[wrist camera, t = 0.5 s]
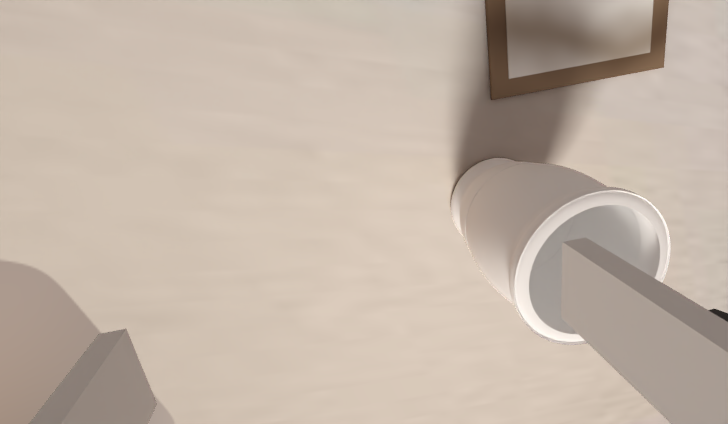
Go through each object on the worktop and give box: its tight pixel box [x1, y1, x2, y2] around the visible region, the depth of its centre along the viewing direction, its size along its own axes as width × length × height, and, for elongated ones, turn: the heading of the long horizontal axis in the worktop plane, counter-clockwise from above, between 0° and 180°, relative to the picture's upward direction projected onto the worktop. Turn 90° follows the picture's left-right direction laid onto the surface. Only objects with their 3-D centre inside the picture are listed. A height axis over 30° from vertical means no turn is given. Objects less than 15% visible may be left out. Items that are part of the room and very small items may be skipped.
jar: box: [451, 158, 671, 345], centre depth 32 cm, size 11×10×15 cm
